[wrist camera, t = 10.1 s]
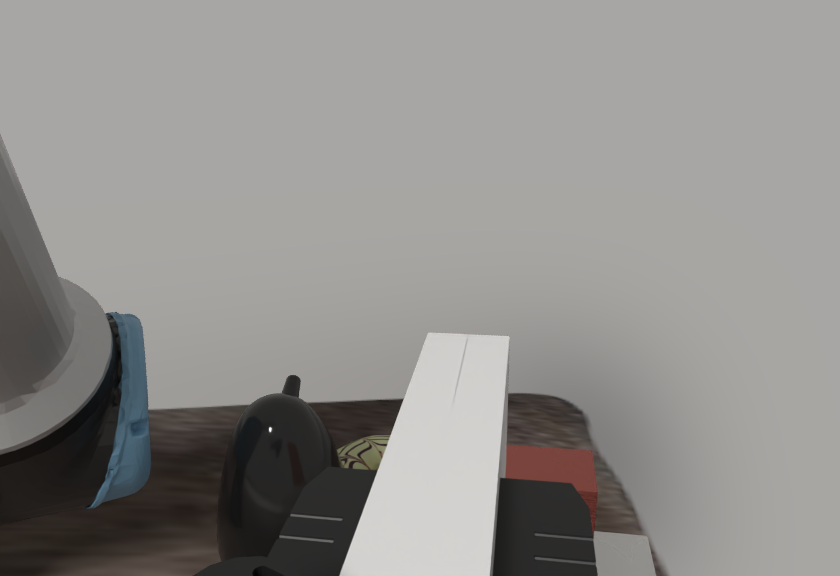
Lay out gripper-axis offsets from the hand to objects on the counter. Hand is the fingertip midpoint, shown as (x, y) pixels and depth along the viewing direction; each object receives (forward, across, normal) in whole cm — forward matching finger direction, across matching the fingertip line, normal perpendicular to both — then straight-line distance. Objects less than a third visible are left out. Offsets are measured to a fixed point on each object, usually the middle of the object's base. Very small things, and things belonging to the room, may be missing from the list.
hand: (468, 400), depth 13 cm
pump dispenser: (+28, -16, -32) cm, 45 cm away
